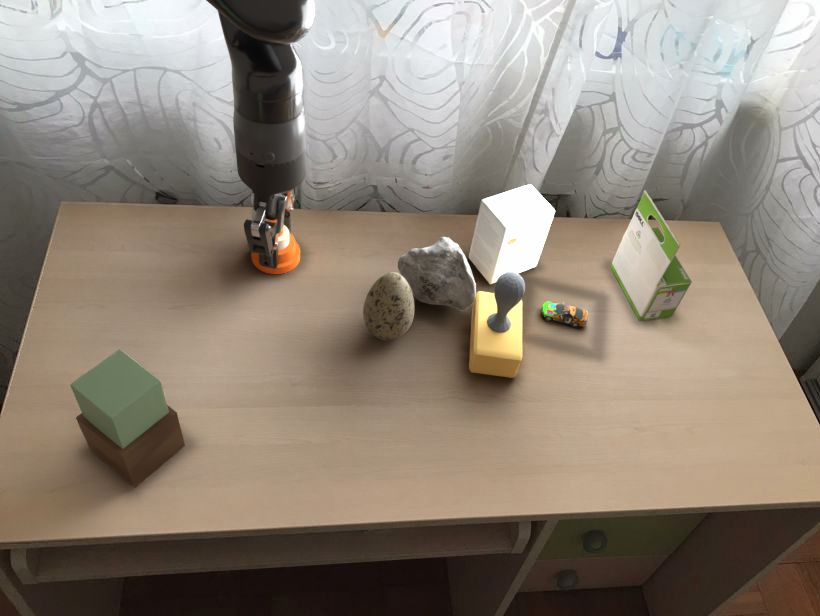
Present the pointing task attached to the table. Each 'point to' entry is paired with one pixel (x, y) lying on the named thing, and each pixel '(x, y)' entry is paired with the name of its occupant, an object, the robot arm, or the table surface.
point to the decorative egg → (389, 307)
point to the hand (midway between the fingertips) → (275, 250)
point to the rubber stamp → (498, 328)
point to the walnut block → (136, 447)
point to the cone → (282, 253)
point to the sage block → (120, 398)
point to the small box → (510, 232)
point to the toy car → (564, 314)
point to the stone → (439, 274)
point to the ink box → (650, 265)
